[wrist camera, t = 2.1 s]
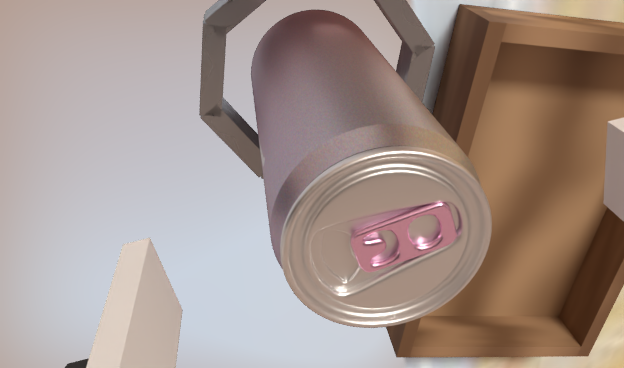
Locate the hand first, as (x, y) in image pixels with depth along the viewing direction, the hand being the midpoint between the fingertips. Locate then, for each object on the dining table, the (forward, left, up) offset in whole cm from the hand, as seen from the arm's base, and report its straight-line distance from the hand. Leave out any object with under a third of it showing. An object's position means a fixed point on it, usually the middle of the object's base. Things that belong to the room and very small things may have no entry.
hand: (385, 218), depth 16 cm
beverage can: (0, 0, -14) cm, 14 cm away
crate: (+13, -6, -13) cm, 19 cm away
